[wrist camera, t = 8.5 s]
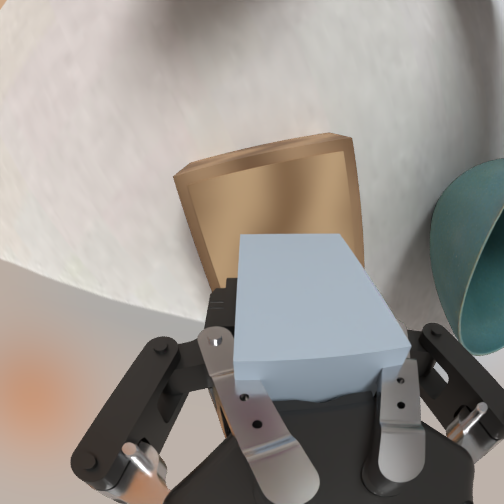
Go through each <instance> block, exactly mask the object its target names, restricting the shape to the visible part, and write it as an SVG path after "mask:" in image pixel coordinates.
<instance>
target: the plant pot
mask: <svg viewBox="0 0 504 504" xmlns="http://www.w3.org/2000/svg"><path fill="white" fill-rule="evenodd" d="M430 259H431V267H432V272H433V277H434V281H435V286H436V289H437V293H438V296H439V299H440V302H441V305H442V307H443V310H444V312H445V315H446V317H447V319H448V322H449V324H450V326H451V328H452V330H453V332H454V334H455V336H456V338H457V339H458V341H459V342H460V343H461V344H462V345H463V347H464V348H465V349H466V350H467V351H468V352H469V353H470V354H471V355H475V356H483V355H488V354H491V353H494V352H496V351H498V350H500V349H502V348H504V158H502V159H496V160H492V161H488V162H485V163H482V164H480V165H477V166H475V167H473V168H471V169H470V170H468V171H466V172H465V173H463V174H462V175H461V176H459V177H458V178H457V179H456V180H455V181H454V182H453V183H451V184H450V185H449V187H448V188H447V189H446V190H445V191H444V192H443V194H442V195H441V197H440V198H439V200H438V202H437V205H436V207H435V210H434V213H433V216H432V222H431V230H430Z"/></svg>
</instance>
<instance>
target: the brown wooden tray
mask: <svg viewBox="0 0 504 504" xmlns="http://www.w3.org/2000/svg"><path fill="white" fill-rule="evenodd" d="M173 178H174V182H175V185H176V188H177V191H178V194H179V197H180V201H181V204H182V207H183V210H184V213H185V216H186V219H187V222H188V225H189V228H190V231H191V234H192V237H193V240H194V243H195V246H196V248H197V251H198V254H199V257H200V260H201V263H202V265H203V268H204V271H205V274H206V277H207V279H208V282H209V285H210V288H211V290H212V292H213V291H214V290H215V289H216V288H226V279H227V278H238V262H239V246H240V234H340V235H341V236H342V238H343V239H344V241H345V242H346V243H347V245H348V246H349V248H350V249H351V251H352V252H353V253H354V255H355V256H356V258H357V259H358V261H359V262H360V264H361V265H362V267H363V268H364V244H363V228H362V215H361V204H360V194H359V184H358V176H357V168H356V161H355V154H354V147H353V141H352V138H351V137H346V136H342V135H338V134H333V133H323V134H317V135H311V136H305V137H299V138H294V139H288V140H283V141H278V142H273V143H268V144H264V145H259V146H255V147H250V148H246V149H241V150H237V151H233V152H229V153H225V154H221V155H217V156H213V157H210V158H206V159H202V160H199V161H195V162H192V163H189V164H188V165H187V166H186V167H184V168H183V169H182V170H181V171H179V172H178V173H177V174H176V175H174V176H173ZM364 270H365V268H364Z"/></svg>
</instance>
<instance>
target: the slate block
mask: <svg viewBox="0 0 504 504" xmlns="http://www.w3.org/2000/svg"><path fill="white" fill-rule="evenodd" d="M410 348H411V344H410V342H409V340H408V339H407V337H406V335H405V334H404V332H403V330H402V328H401V327H400V325H399V323H398V322H397V320H396V318H395V317H394V315H393V313H392V312H391V310H390V309H389V307H388V305H387V304H386V302H385V300H384V299H383V297H382V296H381V294H380V293H379V291H378V289H377V288H376V286H375V285H374V283H373V282H372V280H371V279H370V277H369V276H368V274H367V273H366V271H365V270H364V268H363V267H362V265H361V264H360V262H359V261H358V259H357V258H356V256H355V255H354V253H353V252H352V251H351V249H350V248H349V246H348V245H347V243H346V242H345V241H344V239H343V238H342V236H341V235H340V234H240V246H239V262H238V279H237V297H236V315H235V335H234V355H233V365H234V377H235V380H260V381H261V382H262V384H263V386H264V388H265V390H266V392H267V393H268V395H269V397H270V399H271V401H286V400H300V401H308V402H317V403H325V402H328V401H331V400H334V399H337V398H339V397H342V396H345V395H347V394H353V393H359V392H365V391H372V394H373V397H374V395H375V393H376V391H377V384H376V383H375V382H376V380H377V378H378V376H379V374H380V372H381V370H382V368H386V367H391V366H397V365H402V364H403V363H404V361H405V359H406V357H407V355H408V353H409V351H410Z"/></svg>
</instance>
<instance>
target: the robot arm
mask: <svg viewBox="0 0 504 504" xmlns="http://www.w3.org/2000/svg"><path fill="white" fill-rule="evenodd" d="M237 279H238V278H227V279H226V288H216V289H215V290H214V291H213V292H212V293H211V294H210V300H209V305H208V310H207V316H206V321H205V327H204V330H202V331H201V332H200V333H199V335H198V338H197V339H195V340H193V341H191V342H187V343H182V344H177V342H176V341H175V340H174V339H172V338H170V337H157V338H154V339H152V340H151V341H149V342H148V343H147V344H146V346H145V347H144V348H143V350H142V351H141V352H140V354H139V355H138V357H137V358H136V360H135V361H134V362H133V364H132V365H131V367H130V368H129V370H128V371H127V373H126V374H125V375H124V377H123V378H122V380H121V381H120V383H119V384H118V386H117V387H116V389H115V390H114V392H113V393H112V394H111V396H110V397H109V399H108V400H107V402H106V403H105V405H104V406H103V408H102V409H101V411H100V412H99V414H98V415H97V417H96V418H95V420H94V422H93V423H92V424H91V426H90V428H89V429H88V431H87V432H86V434H85V435H84V437H83V438H82V440H81V441H80V443H79V445H78V446H77V448H76V449H75V451H74V452H73V454H72V457H71V468H72V470H73V472H74V474H75V475H76V476H77V477H78V478H79V479H81V480H82V481H84V482H86V483H87V484H88V485H89V486H90V487H91V488H93V489H94V490H96V491H98V492H99V493H101V494H102V495H104V496H106V497H108V498H111V499H113V500H114V501H116V502H118V503H122V504H473V496H472V493H473V492H472V491H473V489H472V488H473V480H474V472H475V471H474V464H475V463H476V462H477V461H478V460H479V459H481V458H482V457H483V456H485V455H486V454H487V453H488V452H489V451H490V450H492V449H493V448H494V447H495V446H496V445H497V444H499V443H500V442H501V441H502V440H503V439H504V389H503V388H502V387H501V386H500V385H499V384H498V382H497V381H496V380H495V379H494V378H493V377H492V376H491V375H490V374H489V373H488V371H487V370H486V369H485V368H484V367H483V366H482V365H481V364H480V363H479V362H478V361H477V360H476V359H475V358H474V357H473V356H472V355H471V354H470V353H469V352H468V351H467V350H466V349H465V348H464V347H463V345H462V344H461V343H460V342H459V341H457V340H456V339H455V338H454V337H453V336H452V335H451V334H450V333H449V332H448V331H447V330H446V329H445V328H444V327H443V326H441V325H439V324H436V323H428V324H426V325H425V326H424V327H423V330H422V332H421V331H412V330H407V328H406V326H405V324H404V323H403V322H401V321H400V320H397V319H396V320H397V322H398V323H399V325H400V327H401V328H402V330H403V332H404V334H405V335H406V337H407V339H408V340H409V342H410V344H411V348H410V351H409V353H408V355H407V357H406V359H405V361H404V363H403V364H402V365H397V366H391V367H386V368H382V370H381V372H380V374H379V376H378V378H377V380H376V382H375V383H376V384H377V391H376V393H375V395H374V397H373V394H372V391H365V392H359V393H353V394H347V395H345V396H342V397H339V398H337V399H334V400H331V401H328V402H325V403H317V402H308V401H300V400H286V401H271V399H270V397H269V395H268V393H267V392H266V390H265V388H264V386H263V384H262V382H261V381H260V380H235V377H234V365H233V355H234V335H235V315H236V297H237ZM436 362H437V363H438V364H439V365H440V366H441V367H442V368H443V369H444V370H445V372H446V373H447V374H448V377H449V381H448V384H447V383H446V382H445V381H444V379H443V378H442V377H441V376H440V375H439V374H438V372H437V371H436V370H435V369H434V368H433V367H434V365H435V363H436ZM205 388H208V390H209V393H210V396H211V399H212V401H213V404H214V407H215V409H216V412H217V415H218V418H219V421H220V424H221V427H222V430H223V433H224V435H225V438H226V439H225V440H224V441H223V442H222V443H221V444H220V445H219V446H218V447H217V448H216V449H215V450H214V451H213V452H212V453H211V454H210V455H209V456H208V457H207V458H206V459H205V460H204V461H203V462H202V463H201V464H199V466H197V467H196V468H195V469H194V470H193V471H192V472H191V473H190V474H189V475H188V476H187V477H186V478H184V479H183V480H182V481H181V482H180V483H179V484H178V485H177V486H175V487H174V488H173V489H172V490H170V489H168V488H167V486H166V482H165V478H166V474H167V466H166V464H165V462H164V461H163V459H162V458H161V457H160V455H159V454H160V452H161V450H162V448H163V445H164V443H165V441H166V439H167V437H168V435H169V433H170V431H171V429H172V427H173V425H174V423H175V421H176V419H177V417H178V414H179V412H180V410H181V408H182V406H183V404H184V402H185V400H186V398H187V396H188V394H189V392H191V391H196V390H200V389H205ZM420 397H421V398H422V399H423V401H424V402H425V403H426V405H427V406H428V407H429V408H430V410H431V411H432V412H433V414H434V415H435V416H436V418H437V419H438V421H439V422H440V423H441V425H442V426H443V427H444V429H445V430H446V436H447V437H446V436H444V435H442V434H441V433H440V432H438V431H436V430H435V429H433V428H432V427H430V426H429V425H427V424H426V423H424V422H423V421H421V410H420Z"/></svg>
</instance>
